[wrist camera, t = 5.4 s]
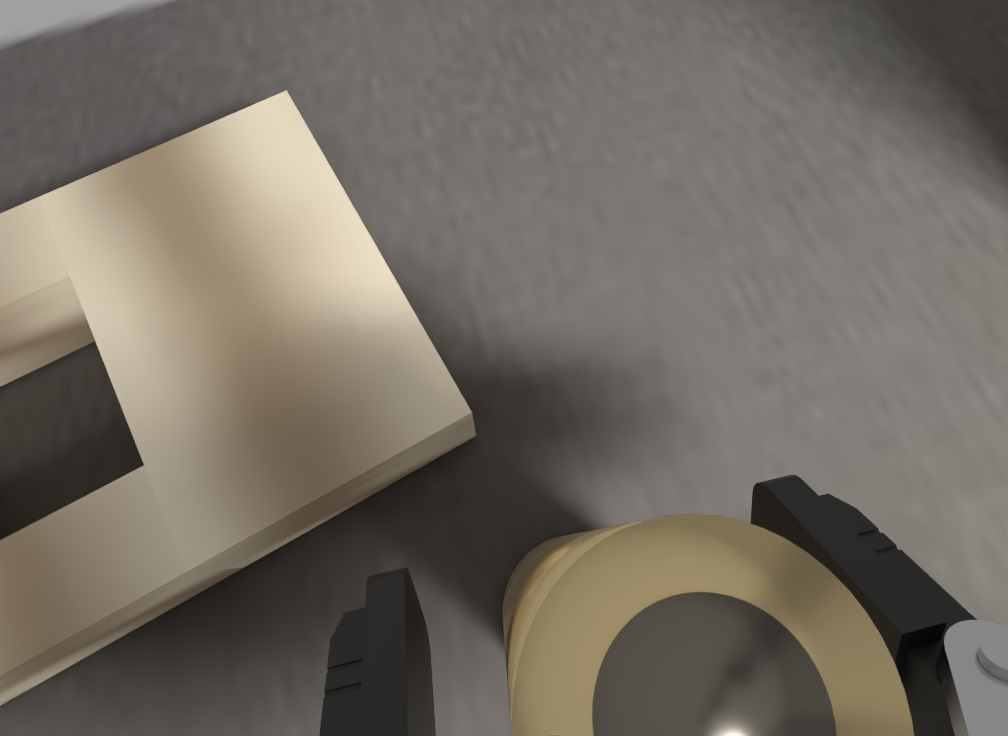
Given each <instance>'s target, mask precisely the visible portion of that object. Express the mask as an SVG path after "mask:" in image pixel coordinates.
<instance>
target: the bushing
mask: <svg viewBox="0 0 1008 736" xmlns="http://www.w3.org/2000/svg"><path fill="white" fill-rule="evenodd" d="M502 615H503V629H504V641H505V654H506V666H507V679H508V691H509V703H510V716H511V728H512V736H914V731H913V724H912V718H911V714H910V710H909V706H908V702H907V698H906V694H905V690H904V687H903V684H902V682H901V679H900V676H899V673H898V671H897V668H896V665H895V663H894V660H893V658H892V656H891V654H890V652H889V650H888V648H887V646H886V644H885V642H884V640H883V638H882V636H881V634H880V633H879V631H878V630H877V628H876V627H875V625H874V623H873V622H872V620H871V619H870V617H869V615H868V614H867V612H866V611H865V610H864V608H863V607H862V606H861V605H860V603H859V602H858V601H857V600H856V598H855V597H854V596H853V594H852V593H851V592H850V591H849V589H848V588H847V587H846V586H845V585H844V584H843V583H842V582H841V581H840V580H839V579H838V578H837V577H836V576H835V575H834V574H833V573H832V572H831V571H830V570H829V569H827V568H826V567H825V566H824V565H823V564H821V563H820V562H819V561H818V560H816V559H815V558H814V557H813V556H811V555H810V554H809V553H807V552H806V551H804V550H803V549H801V548H800V547H798V546H796V545H795V544H793V543H792V542H790V541H789V540H787V539H785V538H783V537H781V536H779V535H777V534H775V533H773V532H771V531H768V530H766V529H764V528H762V527H759V526H756V525H753V524H750V523H747V522H744V521H741V520H737V519H732V518H727V517H722V516H717V515H702V514H683V515H669V516H663V517H658V518H653V519H648V520H643V521H637V522H632V523H627V524H622V525H617V526H611V527H606V528H601V529H596V530H591V531H585V532H580V533H575V534H570V535H565V536H560V537H556V538H553V539H550V540H547V541H545V542H543V543H541V544H540V545H538V546H537V547H535V548H534V549H532V550H531V551H530V552H529V553H528V554H527V555H526V556H524V558H523V559H522V560H521V561H520V562H519V564H518V565H517V566H516V568H515V570H514V571H513V573H512V575H511V577H510V579H509V582H508V584H507V587H506V591H505V595H504V600H503V612H502Z"/></svg>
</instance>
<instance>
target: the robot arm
mask: <svg viewBox="0 0 1008 736" xmlns="http://www.w3.org/2000/svg"><path fill="white" fill-rule="evenodd" d="M751 524H753V525H756V526H759V527H762V528H764V529H766V530H768V531H771V532H773V533H775V534H777V535H779V536H781V537H783V538H785V539H787V540H789V541H790V542H792V543H793V544H795V545H796V546H798V547H800V548H801V549H803V550H804V551H806V552H807V553H809V554H810V555H811V556H813V557H814V558H815V559H816V560H818V561H819V562H820V563H821V564H823V565H824V566H825V567H826V568H827V569H829V570H830V571H831V572H832V573H833V574H834V575H835V576H836V577H837V578H838V579H839V580H840V581H841V582H842V583H843V584H844V585H845V586H846V587H847V588H848V589H849V591H850V592H851V593H852V594H853V596H854V597H855V598H856V600H857V601H858V602H859V603H860V605H861V606H862V607H863V608H864V610H865V611H866V612H867V614H868V615H869V617H870V619H871V620H872V622H873V623H874V625H875V627H876V628H877V630H878V631H879V633H880V634H881V636H882V638H883V640H884V642H885V644H886V646H887V648H888V650H889V652H890V654H891V656H892V658H893V660H894V663H895V665H896V668H897V671H898V673H899V676H900V679H901V682H902V684H903V687H904V690H905V694H906V698H907V702H908V706H909V710H910V714H911V718H912V724H913V731H914V736H1008V627H1007V626H1004V625H1001V624H999V623H994V622H990V621H984V620H977V619H976V618H975V617H974V616H972V615H971V614H970V613H969V612H968V611H967V610H966V609H964V608H963V607H962V606H961V605H960V604H959V603H958V602H957V601H956V600H955V599H954V598H953V597H952V596H950V595H949V594H948V593H947V592H946V591H945V590H944V589H943V588H942V587H941V586H940V585H939V584H937V583H936V582H935V581H934V580H933V579H932V578H931V577H930V576H929V575H928V574H927V573H926V572H925V571H923V570H922V569H921V568H920V567H919V566H918V565H917V564H916V563H915V562H914V561H913V560H912V559H911V558H909V557H908V556H907V555H906V554H905V553H904V552H903V551H902V550H898V549H897V547H896V545H895V544H894V543H893V542H892V541H891V540H890V539H889V538H888V537H887V536H886V535H885V534H884V533H880V532H879V530H878V528H877V527H876V526H875V525H874V524H873V523H872V522H871V521H870V520H869V519H867V518H866V517H865V516H864V515H863V514H862V513H861V512H860V511H859V510H858V509H857V508H855V507H853V506H851V505H849V504H847V503H845V502H843V501H841V500H839V499H838V498H836V497H834V496H832V495H830V494H825V495H821V496H818V495H817V494H816V493H815V492H814V491H813V490H812V489H811V488H810V487H809V486H808V485H807V484H806V483H805V482H804V481H803V480H802V479H801V478H799V477H798V476H796V475H788V476H784V477H780V478H776V479H772V480H768V481H764V482H760V483H756V484H755V486H754V488H753V496H752V511H751ZM327 668H328V673H327V675H326V684H325V697H324V701H323V710H322V719H321V728H320V736H436V732H435V716H434V701H433V685H432V669H431V654H430V644H429V637H428V632H427V627H426V623H425V619H424V616H423V613H422V610H421V607H420V604H419V601H418V597H417V594H416V591H415V588H414V585H413V582H412V579H411V576H410V573H409V571H408V569H407V568H402V569H398V570H394V571H390V572H386V573H382V574H378V575H374V576H370V577H368V579H367V587H366V605H365V608H361V609H357V610H353V611H349V612H345V613H344V614H343V616H342V618H341V620H340V622H339V624H338V626H337V628H336V630H335V632H334V634H333V636H332V638H331V640H330V648H329V657H328V666H327Z"/></svg>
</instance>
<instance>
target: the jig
mask: <svg viewBox="0 0 1008 736" xmlns="http://www.w3.org/2000/svg"><path fill="white" fill-rule="evenodd" d="M95 341H96V344H97V347H98V349H99V352H100V354H101V357H102V359H103V362H104V364H105V367H106V369H107V372H108V375H109V377H110V380H111V382H112V385H113V387H114V390H115V392H116V395H117V397H118V400H119V403H120V405H121V408H122V410H123V413H124V415H125V418H126V420H127V423H128V425H129V428H130V431H131V433H132V436H133V438H134V441H135V443H136V446H137V448H138V451H139V453H140V456H141V459H142V461H143V464H144V466H142V467H140V468H138V469H136V470H134V471H132V472H130V473H128V474H127V475H125V476H123V477H121V478H119V479H117V480H115V481H113V482H111V483H109V484H107V485H105V486H103V487H102V488H100V489H98V490H96V491H94V492H92V493H90V494H88V495H86V496H84V497H82V498H80V499H79V500H77V501H75V502H73V503H71V504H69V505H67V506H65V507H63V508H61V509H59V510H57V511H55V512H54V513H52V514H50V515H48V516H46V517H44V518H42V519H40V520H38V521H36V522H34V523H32V524H31V525H29V526H27V527H25V528H23V529H21V530H19V531H17V532H15V533H13V534H11V535H9V536H7V537H6V538H4V539H2V540H0V706H1V705H2V704H4V703H6V702H8V701H10V700H11V699H13V698H15V697H17V696H18V695H20V694H22V693H24V692H25V691H27V690H29V689H31V688H32V687H34V686H36V685H38V684H39V683H41V682H43V681H45V680H47V679H48V678H50V677H52V676H54V675H55V674H57V673H59V672H61V671H62V670H64V669H66V668H68V667H69V666H71V665H73V664H75V663H77V662H78V661H80V660H82V659H84V658H85V657H87V656H89V655H91V654H92V653H94V652H96V651H98V650H99V649H101V648H103V647H105V646H106V645H108V644H110V643H112V642H114V641H115V640H117V639H119V638H121V637H122V636H124V635H126V634H128V633H129V632H131V631H133V630H135V629H136V628H138V627H140V626H142V625H144V624H145V623H147V622H149V621H151V620H152V619H154V618H156V617H158V616H159V615H161V614H163V613H165V612H166V611H168V610H170V609H172V608H174V607H175V606H177V605H179V604H181V603H182V602H184V601H186V600H188V599H189V598H191V597H193V596H195V595H196V594H198V593H200V592H202V591H203V590H205V589H207V588H209V587H211V586H212V585H214V584H216V583H218V582H219V581H221V580H223V579H225V578H226V577H228V576H230V575H232V574H233V573H235V572H237V571H239V570H241V569H242V568H244V567H246V566H248V565H249V564H251V563H253V562H255V561H256V560H258V559H260V558H262V557H263V556H265V555H267V554H269V553H271V552H272V551H274V550H276V549H278V548H279V547H281V546H283V545H285V544H286V543H288V542H290V541H292V540H293V539H295V538H297V537H299V536H300V535H302V534H304V533H306V532H308V531H309V530H311V529H313V528H315V527H316V526H318V525H320V524H322V523H323V522H325V521H327V520H329V519H330V518H332V517H334V516H336V515H338V514H339V513H341V512H343V511H345V510H346V509H348V508H350V507H352V506H353V505H355V504H357V503H359V502H360V501H362V500H364V499H366V498H367V497H369V496H371V495H373V494H375V493H376V492H378V491H380V490H382V489H383V488H385V487H387V486H389V485H390V484H392V483H394V482H396V481H397V480H399V479H401V478H403V477H405V476H406V475H408V474H410V473H412V472H413V471H415V470H417V469H419V468H420V467H422V466H424V465H426V464H427V463H429V462H431V461H433V460H435V459H436V458H438V457H440V456H442V455H443V454H445V453H447V452H449V451H450V450H452V449H454V448H456V447H457V446H459V445H461V444H463V443H464V442H466V441H468V440H470V439H472V438H473V437H475V436H476V431H475V426H474V420H473V415H472V411H471V410H470V408H469V406H468V404H467V403H466V401H465V399H464V397H463V396H462V394H461V392H460V391H459V389H458V387H457V385H456V384H455V382H454V380H453V378H452V377H451V375H450V373H449V371H448V370H447V368H446V366H445V365H444V363H443V361H442V359H441V358H440V356H439V354H438V352H437V351H436V349H435V347H434V345H433V344H432V342H431V340H430V339H429V337H428V335H427V333H426V332H425V330H424V328H423V326H422V325H421V323H420V321H419V319H418V318H417V316H416V314H415V312H414V311H413V309H412V307H411V306H410V304H409V302H408V300H407V299H406V297H405V295H404V293H403V292H402V290H401V288H400V286H399V285H398V283H397V281H396V280H395V278H394V276H393V274H392V273H391V271H390V269H389V267H388V266H387V264H386V262H385V260H384V259H383V257H382V255H381V254H380V252H379V250H378V248H377V247H376V245H375V243H374V241H373V240H372V238H371V236H370V234H369V233H368V231H367V229H366V227H365V226H364V224H363V222H362V221H361V219H360V217H359V215H358V214H357V212H356V210H355V208H354V207H353V205H352V203H351V201H350V200H349V198H348V196H347V195H346V193H345V191H344V189H343V188H342V186H341V184H340V182H339V181H338V179H337V177H336V175H335V174H334V172H333V170H332V169H331V167H330V165H329V163H328V162H327V160H326V158H325V156H324V155H323V153H322V151H321V149H320V148H319V146H318V144H317V142H316V141H315V139H314V137H313V136H312V134H311V132H310V130H309V129H308V127H307V125H306V123H305V122H304V120H303V118H302V116H301V115H300V113H299V111H298V110H297V108H296V106H295V104H294V103H293V101H292V99H291V97H290V96H289V94H288V92H287V90H286V91H284V92H282V93H279V94H277V95H275V96H272V97H270V98H268V99H265V100H263V101H261V102H259V103H256V104H254V105H252V106H249V107H247V108H245V109H242V110H240V111H238V112H235V113H233V114H231V115H228V116H226V117H224V118H221V119H219V120H217V121H214V122H212V123H210V124H207V125H205V126H203V127H200V128H198V129H196V130H193V131H191V132H189V133H186V134H184V135H182V136H179V137H177V138H175V139H172V140H170V141H168V142H165V143H163V144H161V145H158V146H156V147H154V148H151V149H149V150H147V151H144V152H142V153H140V154H137V155H135V156H133V157H131V158H128V159H126V160H124V161H121V162H119V163H117V164H114V165H112V166H110V167H107V168H105V169H103V170H100V171H98V172H96V173H93V174H91V175H89V176H86V177H84V178H82V179H79V180H77V181H75V182H72V183H70V184H68V185H65V186H63V187H61V188H58V189H56V190H54V191H51V192H49V193H47V194H44V195H42V196H40V197H37V198H35V199H33V200H30V201H28V202H26V203H23V204H21V205H19V206H16V207H14V208H12V209H9V210H7V211H5V212H3V213H0V387H1V386H3V385H5V384H7V383H9V382H11V381H13V380H15V379H17V378H19V377H22V376H24V375H26V374H28V373H30V372H32V371H34V370H36V369H38V368H40V367H42V366H45V365H47V364H49V363H51V362H53V361H55V360H57V359H59V358H61V357H63V356H65V355H68V354H70V353H72V352H74V351H76V350H78V349H80V348H82V347H84V346H86V345H88V344H91V343H93V342H95Z"/></svg>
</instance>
